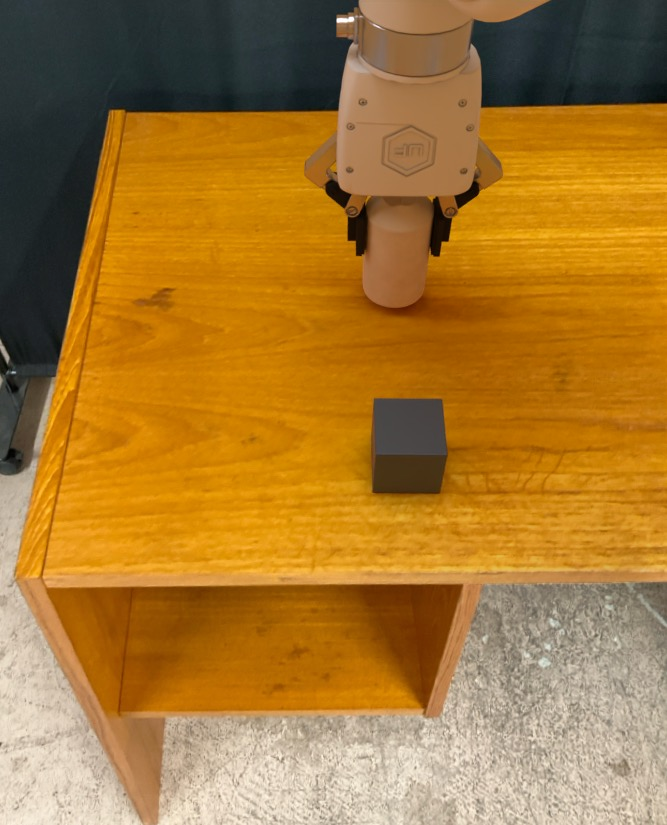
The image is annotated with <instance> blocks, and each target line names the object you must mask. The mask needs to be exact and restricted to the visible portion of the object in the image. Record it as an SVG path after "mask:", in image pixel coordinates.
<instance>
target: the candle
mask: <svg viewBox="0 0 667 825" xmlns="http://www.w3.org/2000/svg"><path fill="white" fill-rule="evenodd" d="M432 202H433V200H431V199H430V197H428V196H369V198H367V200H366V231H365V253H364V255H362V256H363V257H362V283H361V284H362V288H363V292H364V294H365V296H366V297H367V298H368V299H369V300H370V301H371V302H373V303H375V304H376V305H378V306H381V307H385V308H391V309H399V308H405V307H409V306H411V305H413V304H415V303H416V302H418V301H419V300H420V299H421V297H422V296H423V294H424V292H425V288H426V282H427V274H428V266H429V258H430V252H431V251H430V243H431V235H432V227H433V219H434V205H433V203H432Z"/></svg>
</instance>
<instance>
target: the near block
mask: <svg viewBox="0 0 667 825" xmlns="http://www.w3.org/2000/svg"><path fill="white" fill-rule="evenodd" d="M443 401H444V400H443V398H401V397H400V398H399V397H398V398H397V397H395V398H393V397H392V398H390V397H389V398H388V397H387V398H386V397H385V398H382V397H379V398H378V397H374V398H373V401H372V402H373V404H372V418H371V431H370V432H371V433H370V446H371V447H370V452H371V453H370V454H371V458H370V459H371V460H370V461H371V491H372V493H376V494H377V493H385V494H386V493H387V494H389V493H391V494H392V493H393V494H403V493H404V494H440V493H441V489H442V485H443V484H442V483H443V479H444V475H445V470H446V465H447V460H448V456H449V455H448V443H447V434H446V422H445V412H444V402H443Z"/></svg>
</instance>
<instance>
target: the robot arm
mask: <svg viewBox="0 0 667 825" xmlns="http://www.w3.org/2000/svg"><path fill="white" fill-rule="evenodd" d="M548 2H551V0H358V7H357V6H356V7H353V12H347V14H336V38H347V40H353V42H352V43H350V46H349V47H348V50H347V51H348V52H347V55H346V58H345V62H344V68H343V73H342V79H341V86H340V87H341V88H340V93H339V102H338V110H337V111H338V114H337V130H336V131H335V132H334V133H333V134H332V135H331V136H330V137H329V138H328V139H327V140H325V141H324V143H322V145H320V146H319V147H318V148H317V149H316V150H315V151H314V152H313V153H312V154H311V155H310V156H309V157H308V158H307V159H306V160H305V161H304V169H303V175H304V177H305V178H306V179H307V180H308V181H310V182H311V183H313V184H314V185H315V186H316V187H318V188H320V189H322V190H323V191H325V195H327V196H328V197H329V198H330V199H331V200H333V201H334V202H335V203H336V204H337V205H339V206H340V207H341V208H342V209H343V210H344V214H345V215H346V217H347V227H346V228H347V233H346V235H347V237H346V239H347V240H346V241H347V242H355V257H362V256H363V255H364V253H365V231H366V203H367V200H368V197H371V196H427V197H428V198H430V197H433V198H432V203H433V205H434V219H433V227H432V235H431V243H430V251H429V252H430V255H431V256H432V257H433V258H440V257H441V250H442V245H443V244H442V243H449V242H450V237H451V230H452V223H453V219H454V218H455V217H457V216H458V213H459V210H460V209H461V208H463V207H465V205H467V204H468V203H469V202H471V201H472V200H474V199H476V198H477V197H478V196H479V194H480V193H481V191H483V190H486V189H487V188H489V187H491V186H492V185H494V184H496V183H497V182H499V181H500V180H502V179H503V176H504V170H503V164H502V162H501V161H500V160H499V158H498V157H497V156H496V155H495V154H494V152H493V151H492V150H491V149H490V148H489V147H488V145H487V144H486V143H485V142H484V141H483V140H482V139H481V137H480V124H481V112H482V96H483V95H482V94H483V92H482V90H483V89H482V87H483V85H482V84H483V83H482V79H483V78H482V77H483V76H482V64H481V58H480V56H479V54H478V50H477V48H476V46H474V45H473V44H472V39H473V33H474V25H475V21H479V22H484V23H501V22H505V21H509V20H512V19H515V18H517V17H520V16H522V15H523V14H525V13H527V12H530V11H531V10H534V9H536V8H537V7H539V6H542V5H544V4H546V3H548ZM335 163H336V171H333V170H332V169H331V167H333V165H334V164H335Z"/></svg>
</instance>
